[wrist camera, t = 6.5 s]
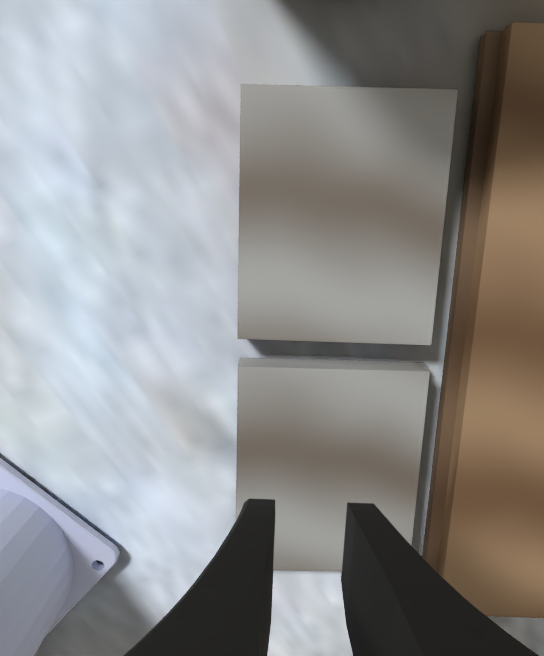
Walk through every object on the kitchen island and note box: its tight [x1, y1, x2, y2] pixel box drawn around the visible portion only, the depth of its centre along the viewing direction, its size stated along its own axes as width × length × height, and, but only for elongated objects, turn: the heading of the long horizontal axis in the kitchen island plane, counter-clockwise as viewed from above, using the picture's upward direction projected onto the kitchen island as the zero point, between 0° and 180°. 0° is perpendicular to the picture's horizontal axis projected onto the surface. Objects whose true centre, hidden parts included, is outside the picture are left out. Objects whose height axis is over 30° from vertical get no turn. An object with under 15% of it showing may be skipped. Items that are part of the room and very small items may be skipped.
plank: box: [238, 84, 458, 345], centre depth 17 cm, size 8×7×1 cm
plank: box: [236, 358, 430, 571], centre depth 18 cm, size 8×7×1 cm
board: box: [422, 22, 544, 618], centre depth 18 cm, size 22×6×1 cm, turn 178°
